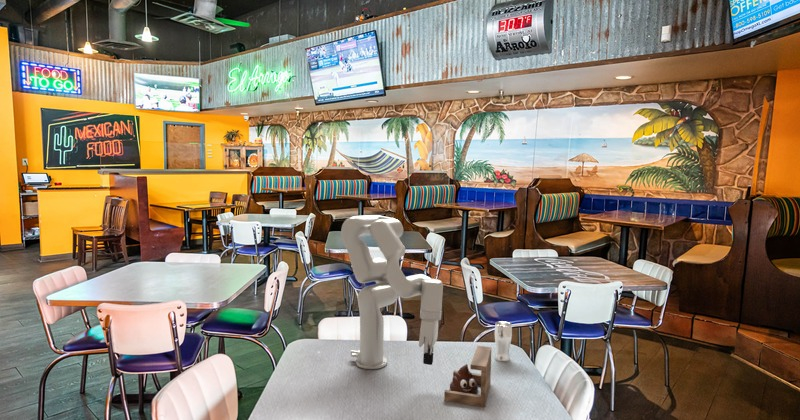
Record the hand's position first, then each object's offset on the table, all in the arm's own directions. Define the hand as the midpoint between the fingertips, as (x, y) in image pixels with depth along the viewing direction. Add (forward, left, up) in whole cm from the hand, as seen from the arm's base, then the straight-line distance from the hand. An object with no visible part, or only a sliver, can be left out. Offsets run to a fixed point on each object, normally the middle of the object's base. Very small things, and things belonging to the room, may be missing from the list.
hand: (427, 363), depth 159 cm
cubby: (+14, 0, -8) cm, 16 cm away
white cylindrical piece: (+24, +34, -8) cm, 42 cm away
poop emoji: (+13, 0, -8) cm, 16 cm away
